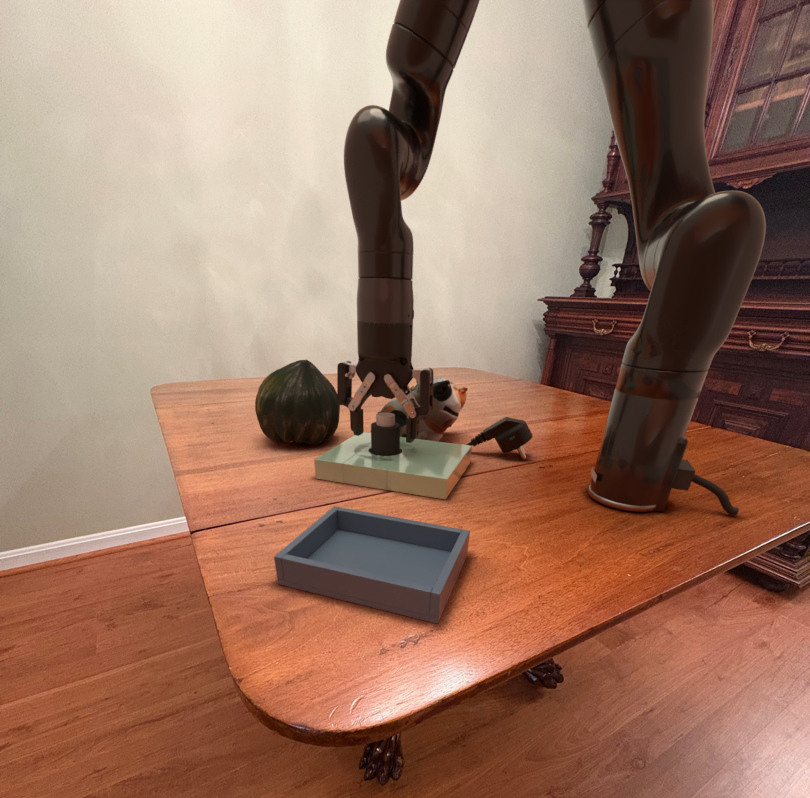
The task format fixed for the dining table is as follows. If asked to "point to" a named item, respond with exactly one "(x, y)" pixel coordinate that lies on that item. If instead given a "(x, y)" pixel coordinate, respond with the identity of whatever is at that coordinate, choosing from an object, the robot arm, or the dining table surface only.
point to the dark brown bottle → (385, 435)
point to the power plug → (506, 435)
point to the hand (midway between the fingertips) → (384, 438)
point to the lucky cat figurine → (440, 417)
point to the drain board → (396, 466)
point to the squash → (297, 405)
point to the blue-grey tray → (376, 562)
